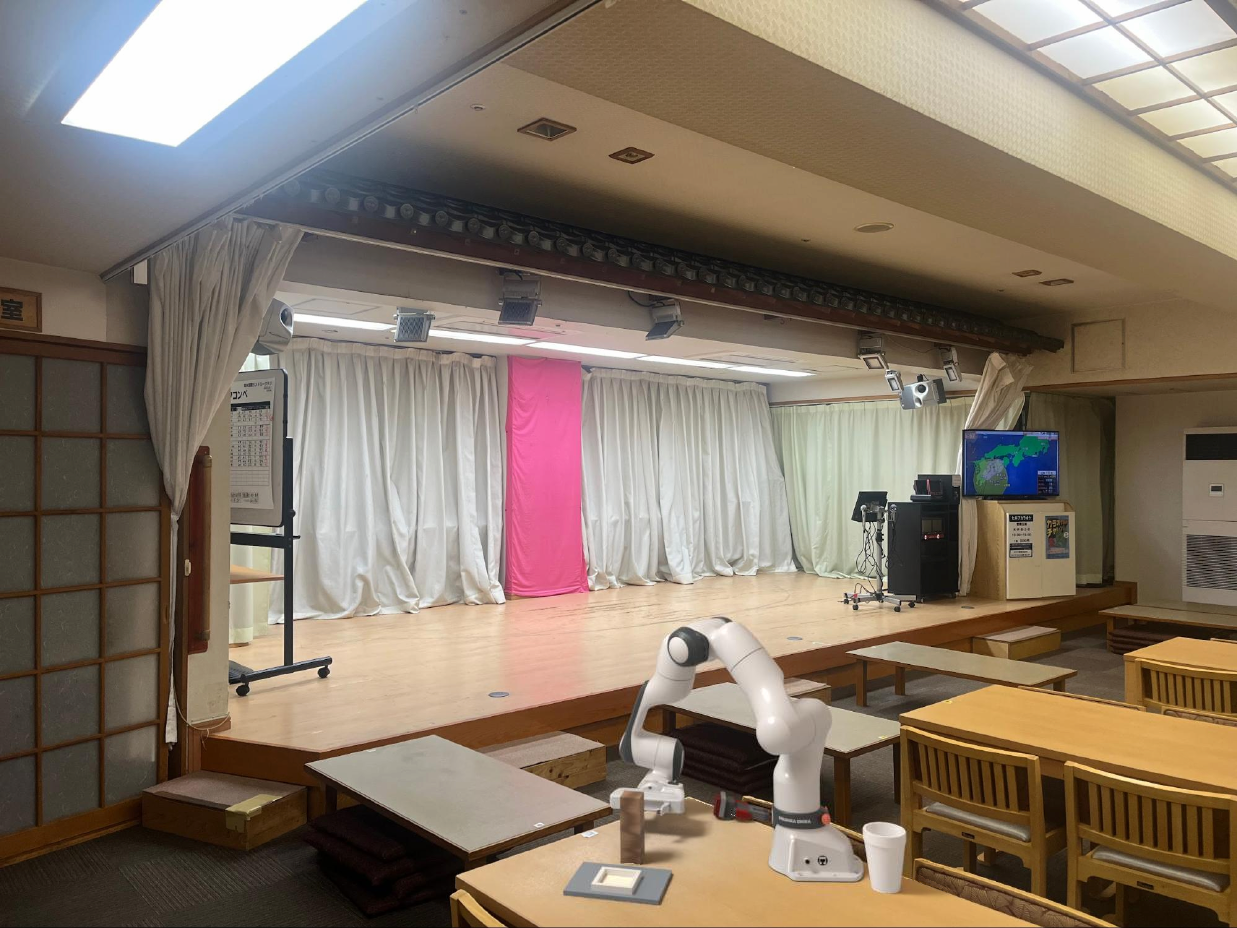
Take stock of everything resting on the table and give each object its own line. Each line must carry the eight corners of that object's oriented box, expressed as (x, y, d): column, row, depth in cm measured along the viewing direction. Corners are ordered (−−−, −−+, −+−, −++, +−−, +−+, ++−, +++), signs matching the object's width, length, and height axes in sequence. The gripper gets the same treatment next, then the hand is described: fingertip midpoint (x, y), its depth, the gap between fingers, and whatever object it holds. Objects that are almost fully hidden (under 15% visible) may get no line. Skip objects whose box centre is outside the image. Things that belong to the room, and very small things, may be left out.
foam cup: (864, 894, 193) (862, 835, 193) (863, 876, 201) (862, 820, 202) (908, 898, 190) (907, 839, 191) (906, 880, 199) (904, 824, 200)
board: (671, 874, 204) (671, 869, 204) (658, 904, 188) (658, 900, 188) (583, 865, 209) (583, 861, 209) (563, 894, 194) (563, 890, 194)
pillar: (644, 856, 214) (643, 791, 215) (640, 864, 209) (639, 798, 210) (625, 854, 215) (624, 790, 216) (620, 863, 211) (619, 797, 211)
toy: (764, 821, 244) (712, 810, 245) (768, 799, 244) (716, 788, 245) (767, 833, 235) (713, 821, 236) (771, 810, 236) (717, 799, 237)
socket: (641, 876, 200) (641, 870, 200) (632, 894, 191) (631, 888, 191) (602, 872, 203) (602, 866, 203) (591, 890, 193) (591, 883, 194)
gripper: (616, 779, 239) (603, 795, 225) (688, 784, 234) (679, 801, 220) (616, 802, 238) (603, 820, 225) (689, 807, 233) (680, 826, 220)
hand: (641, 810), depth 223 cm, fingers open, 8 cm apart
